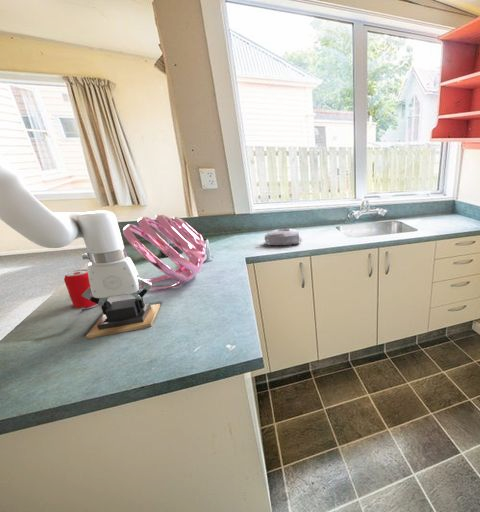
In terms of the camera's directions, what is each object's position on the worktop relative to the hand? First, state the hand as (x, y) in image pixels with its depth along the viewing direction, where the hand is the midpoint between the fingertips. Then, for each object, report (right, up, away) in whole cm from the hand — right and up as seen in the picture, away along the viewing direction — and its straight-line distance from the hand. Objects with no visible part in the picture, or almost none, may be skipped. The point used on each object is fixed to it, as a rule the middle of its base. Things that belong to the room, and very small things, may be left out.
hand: (125, 312), depth 88 cm
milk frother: (-34, +19, +66) cm, 76 cm away
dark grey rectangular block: (0, -1, 0) cm, 1 cm away
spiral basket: (-5, +6, +28) cm, 30 cm away
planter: (-8, +14, +53) cm, 56 cm away
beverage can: (-20, 0, +9) cm, 22 cm away
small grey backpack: (+18, +24, +84) cm, 90 cm away
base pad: (0, -3, +1) cm, 3 cm away
